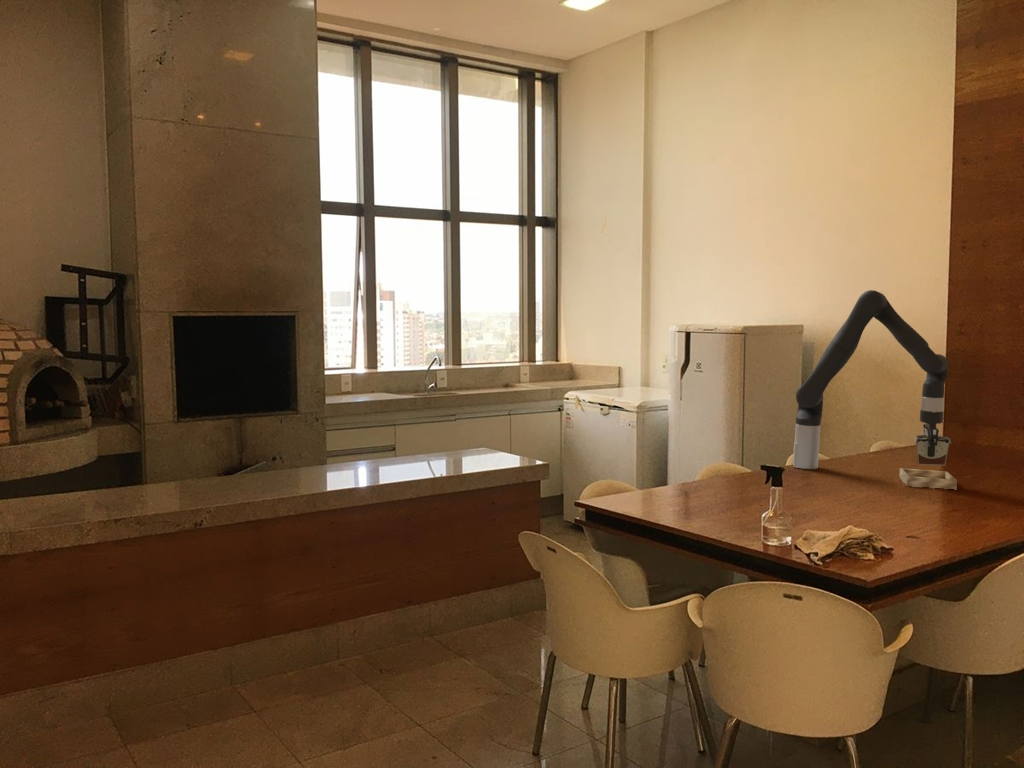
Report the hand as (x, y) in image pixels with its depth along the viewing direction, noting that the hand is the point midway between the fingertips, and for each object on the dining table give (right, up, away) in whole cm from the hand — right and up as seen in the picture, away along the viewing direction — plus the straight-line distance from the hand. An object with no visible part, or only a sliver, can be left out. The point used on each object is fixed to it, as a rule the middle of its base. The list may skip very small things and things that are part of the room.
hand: (928, 454), depth 294 cm
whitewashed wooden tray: (0, -11, +1) cm, 11 cm away
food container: (0, -3, +1) cm, 3 cm away
